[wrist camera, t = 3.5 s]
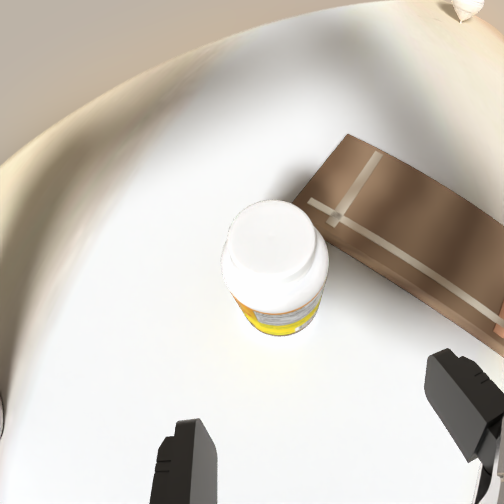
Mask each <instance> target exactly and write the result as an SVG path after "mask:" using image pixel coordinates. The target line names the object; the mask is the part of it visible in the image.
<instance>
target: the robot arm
mask: <svg viewBox="0 0 504 504" xmlns="http://www.w3.org/2000/svg"><path fill="white" fill-rule="evenodd" d="M424 390H425V394H426V397H427V400H428V401H429V403H430V404H431V406H432V407H433V409H434V410H435V412H436V413H437V415H438V416H439V418H440V419H441V421H442V422H443V424H444V425H445V427H446V429H447V430H448V432H449V433H450V435H451V436H452V438H453V439H454V441H455V443H456V444H457V446H458V447H459V449H460V450H461V452H462V454H463V455H464V457H465V458H466V460H467V462H468V463H469V462H471V461H473V460H474V459H476V458H479V460H480V461H481V463H480V466H479V472H478V477H477V482H476V487H475V491H474V495H473V500H472V504H504V393H503V392H502V391H501V390H500V389H499V388H498V387H497V385H496V384H495V383H494V382H493V381H492V380H490V379H489V377H488V376H487V374H486V373H485V372H484V373H483V370H482V369H481V368H480V367H479V366H478V365H477V364H476V363H475V362H474V361H472V360H470V359H468V358H466V357H464V356H462V357H460V358H458V357H457V356H456V355H455V354H454V353H453V352H452V351H451V350H450V349H448V348H446V349H444V350H442V351H439V352H437V353H435V354H432V355H430V356H429V357H428V359H427V368H426V376H425V384H424ZM2 429H3V409H2V402H1V398H0V437H1V433H2ZM156 461H157V463H156V466H155V474H154V478H153V484H152V490H151V497H150V503H149V504H217V452H216V448H215V445H214V443H213V441H212V439H211V437H210V436H209V434H208V432H207V430H206V428H205V427H204V425H203V423H202V421H201V420H200V419H199V418H198V419H190V420H182V421H178V422H177V423H176V427H175V434H174V436H170V437H166V438H165V439H164V441H163V442H162V444H161V446H160V447H159V449H158V455H157V460H156Z"/></svg>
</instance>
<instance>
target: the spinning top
mask: <svg viewBox="0 0 504 504" xmlns="http://www.w3.org/2000/svg"><path fill="white" fill-rule="evenodd" d="M451 2H452V5H453V7H454V9H455V11H456V13H457V15H458V17H459V19H460V24H462V21H464V20H466V19H469V18H470V17H472V16H474V15H475V14H477V13H478V12H479V11H480V10H481V9H482V8H483V6H484V0H451Z"/></svg>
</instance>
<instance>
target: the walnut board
mask: <svg viewBox="0 0 504 504" xmlns="http://www.w3.org/2000/svg"><path fill="white" fill-rule="evenodd" d="M291 204H293V205H295V206H297V207H299V208H300V209H301V210H303V211H304V212H305V213H306V214H307V216H308V217H309V218H310V220H311V222H312V224H313V226H314V227H315V228H316V229H317V230H318V231H319V232H320V234H321V235H322V237H323V239H324V240H325V241H327V242H329V243H330V244H332V245H334V246H335V247H337V248H339V249H340V250H342V251H343V252H345V253H347V254H348V255H350V256H352V257H353V258H355V259H357V260H358V261H360V262H361V263H363V264H365V265H366V266H368V267H369V268H371V269H373V270H374V271H376V272H377V273H379V274H381V275H382V276H384V277H385V278H387V279H388V280H390V281H392V282H393V283H395V284H396V285H398V286H399V287H401V288H402V289H404V290H406V291H407V292H409V293H410V294H412V295H413V296H415V297H416V298H418V299H419V300H421V301H422V302H424V303H425V304H427V305H428V306H430V307H431V308H433V309H434V310H436V311H437V312H439V313H440V314H442V315H443V316H445V317H446V318H448V319H449V320H451V321H452V322H454V323H455V324H457V325H458V326H460V327H461V328H463V329H464V330H465V331H467V332H468V333H470V334H471V335H473V336H474V337H475V338H477V339H478V340H480V341H481V342H483V343H484V344H485V345H487V346H488V347H490V348H491V349H492V350H494V351H495V352H497V353H498V354H499V355H501V356H502V357H504V226H503V225H501V224H500V223H499V222H497V221H496V220H495V219H493V218H492V217H490V216H489V215H488V214H486V213H485V212H483V211H482V210H480V209H479V208H478V207H476V206H475V205H473V204H472V203H470V202H469V201H467V200H466V199H464V198H463V197H461V196H459V195H458V194H456V193H455V192H453V191H452V190H450V189H448V188H447V187H445V186H444V185H442V184H440V183H439V182H437V181H435V180H434V179H432V178H430V177H429V176H427V175H425V174H424V173H422V172H420V171H418V170H417V169H415V168H413V167H411V166H410V165H408V164H406V163H404V162H402V161H400V160H399V159H397V158H395V157H393V156H391V155H389V154H387V153H385V152H383V151H382V150H380V149H378V148H376V147H374V146H372V145H370V144H368V143H366V142H364V141H362V140H360V139H357V138H355V137H353V136H351V135H349V134H347V135H346V136H345V138H344V139H343V140H342V141H341V143H340V144H339V145H338V146H337V148H336V149H335V150H334V151H333V153H332V154H331V155H330V156H329V158H328V159H327V160H326V161H325V163H324V164H323V165H322V166H321V167H320V169H319V170H318V171H317V172H316V174H315V175H314V176H313V177H312V179H311V180H310V181H309V182H308V184H307V185H306V186H305V187H304V189H303V190H302V191H301V192H300V193H299V195H298V196H297V197H296V198H295V200H294V201H293V202H292V203H291Z"/></svg>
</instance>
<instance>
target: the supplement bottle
mask: <svg viewBox="0 0 504 504" xmlns="http://www.w3.org/2000/svg"><path fill="white" fill-rule="evenodd" d="M328 268H329V255H328V249H327V246H326V243H325V241H324V239H323V237H322V235H321V234H320V232H319V231H318V230H317V229H316V228H315V227H314V226H313V224H312V222H311V220H310V218H309V217H308V216H307V214H306V213H305V212H304V211H303V210H301V209H300V208H299V207H297V206H295V205H293V204H291V203H289V202H285V201H281V200H265V201H260V202H257V203H254V204H252V205H250V206H248V207H247V208H245V209H244V210H242V211H241V212H240V213H239V214H238V215H237V216H236V218H235V219H234V220H233V222H232V224H231V226H230V228H229V232H228V238H227V240H226V242H225V245H224V248H223V251H222V256H221V269H222V275H223V278H224V280H225V283H226V285H227V287H228V289H229V290H230V292H231V294H232V295H233V297H234V298H235V300H236V302H237V303H238V305H239V307H240V308H241V310H242V311H243V313H244V315H245V316H246V318H247V319H248V321H249V322H250V323H251V324H252V325H253V326H254V327H255V328H256V329H258V330H259V331H261V332H263V333H265V334H267V335H271V336H278V337H281V336H289V335H292V334H295V333H297V332H299V331H301V330H303V329H304V328H305V327H306V326H308V325H309V323H310V322H311V321H312V320H313V318H314V316H315V315H316V312H317V310H318V307H319V304H320V300H321V297H322V293H323V289H324V285H325V282H326V278H327V274H328Z"/></svg>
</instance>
